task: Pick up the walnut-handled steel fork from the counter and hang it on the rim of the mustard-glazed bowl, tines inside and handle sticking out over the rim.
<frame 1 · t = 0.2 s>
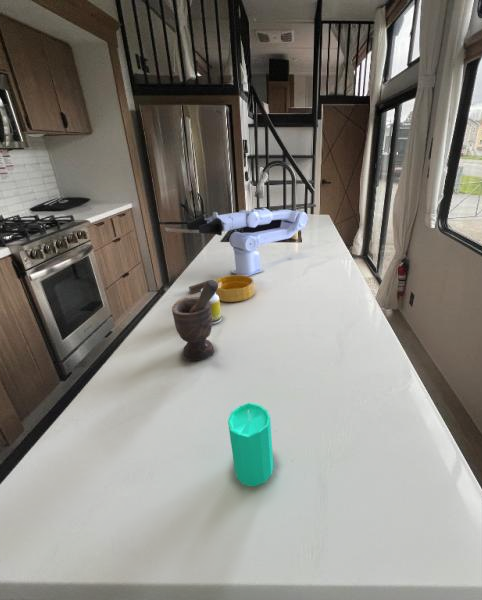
hand: (193, 228, 107), 21 cm above the table, tool horizontal, fingers open, 7 cm apart
bowl: (234, 294, 109), on the table
candle: (254, 469, 51), on the table
mortar and pestle: (205, 353, 79), on the table
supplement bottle: (212, 320, 94), on the table
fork: (210, 286, 116), on the table
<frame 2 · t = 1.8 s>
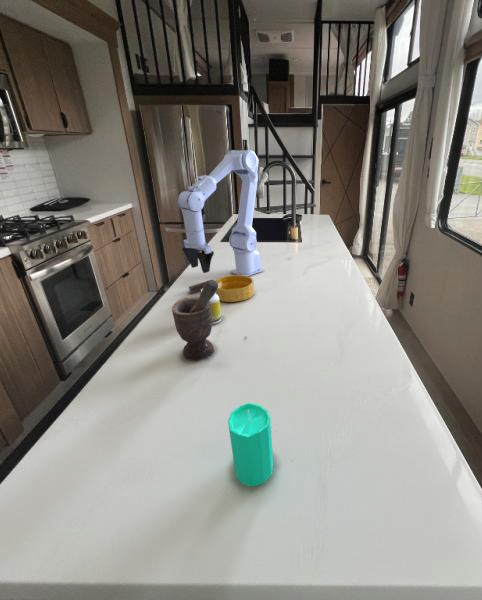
hand: (200, 269, 111), 7 cm above the table, tool pointing down, fingers open, 7 cm apart
nothing on the table moved.
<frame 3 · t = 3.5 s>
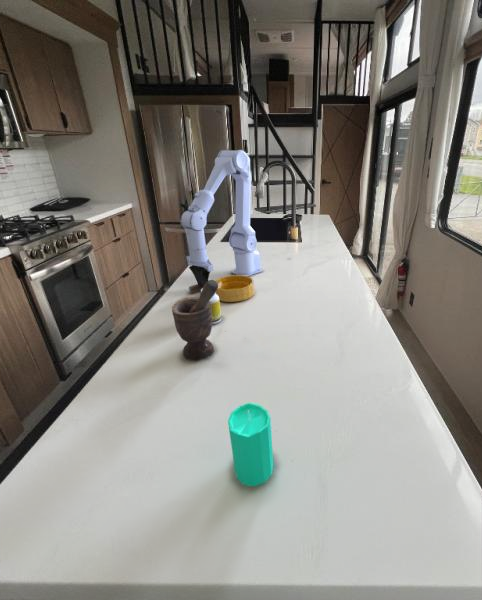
hand: (202, 285, 114), 1 cm above the table, tool pointing down, fingers closed on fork, 1 cm apart
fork: (210, 286, 116), on the table, touching gripper
everything else where it was.
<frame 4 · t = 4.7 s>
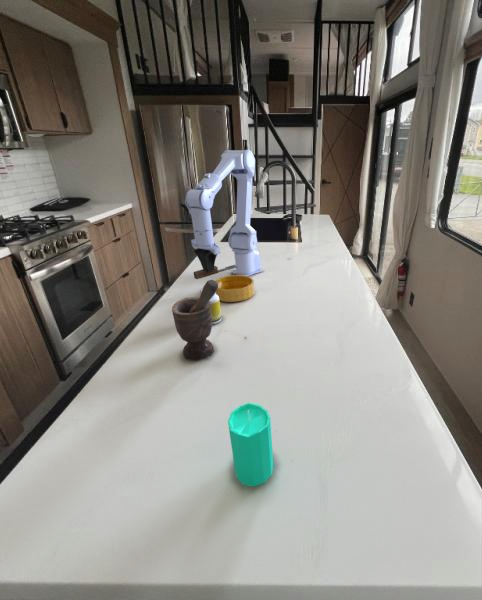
hand: (208, 270, 107), 8 cm above the table, tool pointing down, fingers closed on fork
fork: (216, 272, 109), point 7 cm above the table, touching gripper
everything else where it was.
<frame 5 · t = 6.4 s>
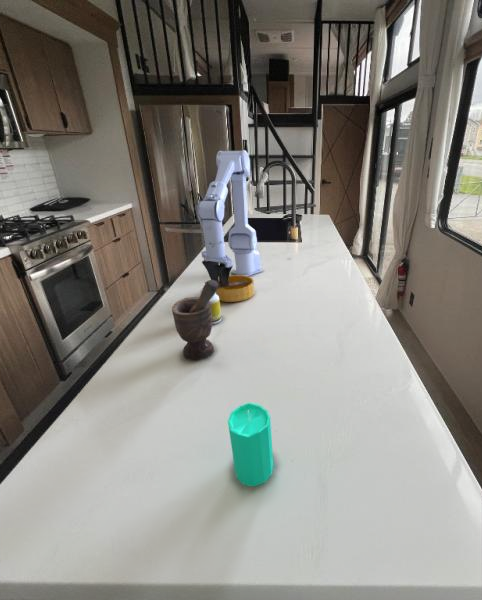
hand: (219, 283, 104), 6 cm above the table, tool pointing down, fingers open, 5 cm apart
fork: (227, 286, 106), point 4 cm above the table, tilted 10°, touching bowl
everything else where it was.
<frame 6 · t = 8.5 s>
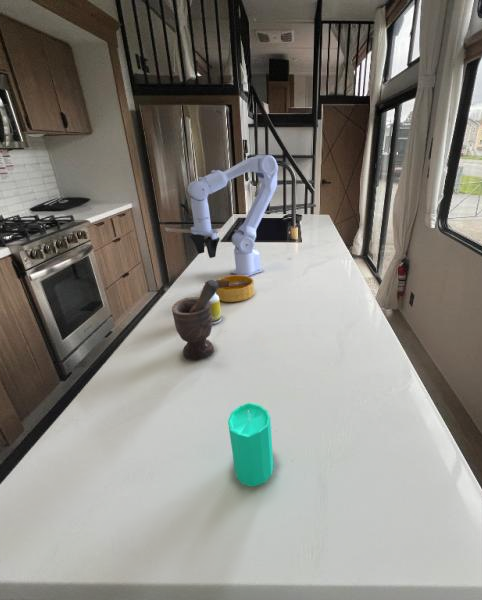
hand: (206, 255, 119), 9 cm above the table, tool pointing down, fingers open, 7 cm apart
nothing on the table moved.
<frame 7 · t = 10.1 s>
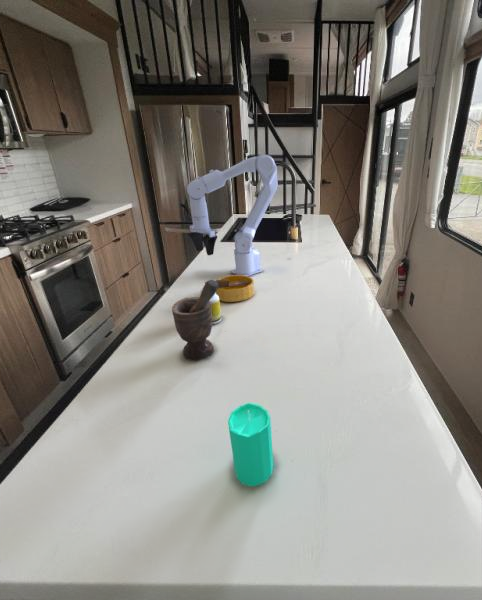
hand: (205, 252, 122), 9 cm above the table, tool pointing down, fingers open, 7 cm apart
nothing on the table moved.
at the end: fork touching bowl; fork inside the target area in the bowl (0.4 cm from its centre), point 3.9 cm above the bowl's base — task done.
